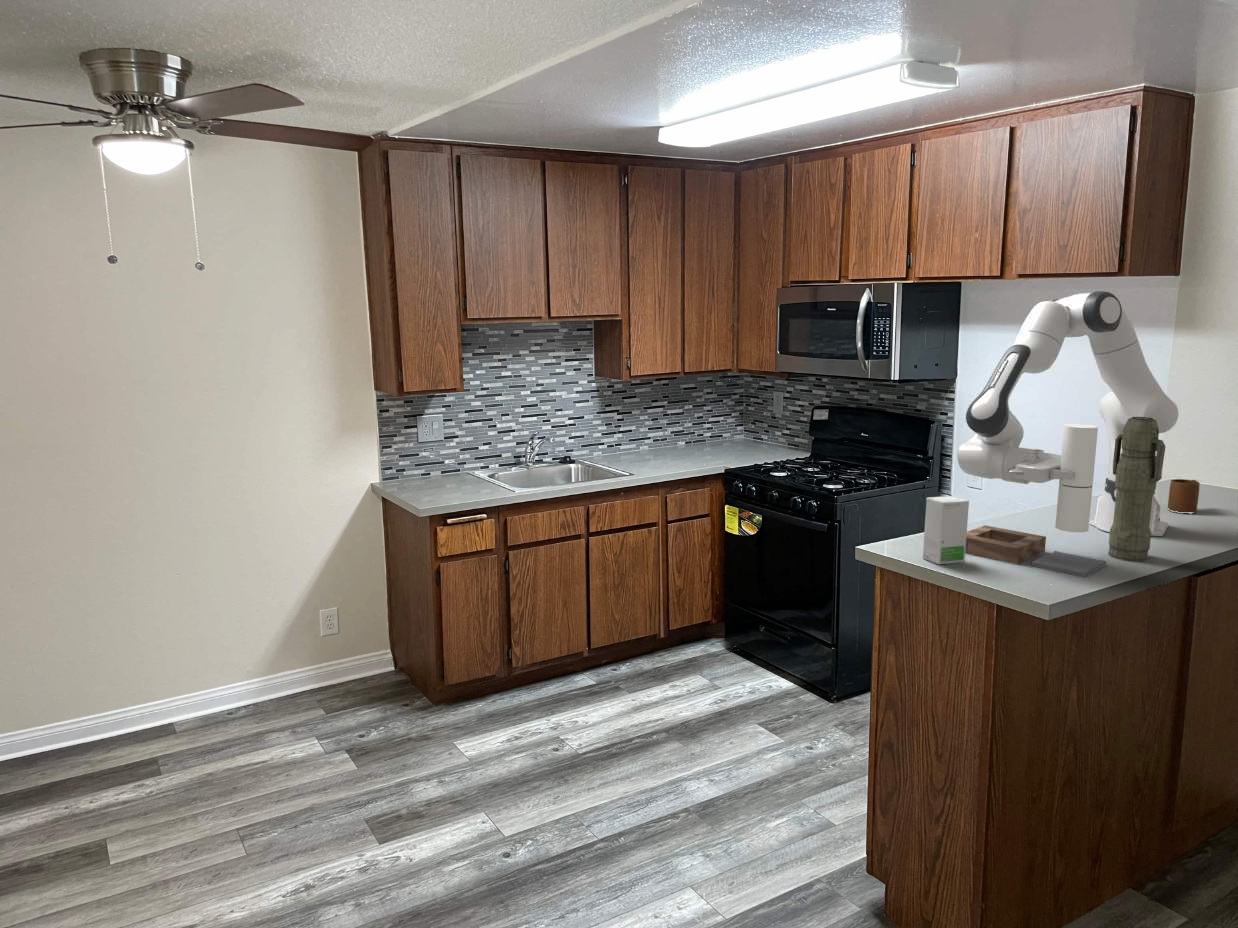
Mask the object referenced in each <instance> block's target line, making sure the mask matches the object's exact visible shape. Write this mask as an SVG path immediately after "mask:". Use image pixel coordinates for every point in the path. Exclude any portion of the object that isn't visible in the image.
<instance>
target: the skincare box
mask: <svg viewBox="0 0 1238 928" xmlns="http://www.w3.org/2000/svg"><path fill="white" fill-rule="evenodd" d="M969 507H970V500H968V499H964V498H960V497H956V496H953V495H952V496H931V497H926V504H925V518H924V519H925V520H924V534H923V548H922V559H923V560H926V561H929V562H931V563H934V564H937V565H945V564H957V563H958V562H959V563H965V560H966V553H965V549H966V535H967V532H968V521H969V518H968V517H969V509H970V508H969ZM959 563H958V564H959Z"/></svg>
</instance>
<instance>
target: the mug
mask: <svg viewBox="0 0 1238 928" xmlns="http://www.w3.org/2000/svg"><path fill="white" fill-rule="evenodd" d="M1168 492H1169V493H1168V501H1167V509H1168V508H1169V509H1170V510H1173V511H1178V512H1196V513H1197V509H1198V503H1199V496H1200V481H1197V480H1195V479H1186V478H1185V479H1182V478H1174V479H1171V480H1170V484H1169V491H1168Z"/></svg>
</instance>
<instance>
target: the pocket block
mask: <svg viewBox="0 0 1238 928" xmlns="http://www.w3.org/2000/svg"><path fill="white" fill-rule="evenodd" d="M1046 542H1047V536H1045V535H1044V536H1043V535H1039V534H1036V533H1035V534H1034V533H1030V532H1028V533H1027V532H1023V531H1018V530H1013V529H1006V528H1002V527H996V526H991V525H990V526H989V525H983V526H979V527H977V528H974V529H972V530H967V535H966V549H965V554H968V555H972V554H973V555H974V556H978V557H981V558H982V557H983V558H986V559H991V558H992V560H996V559H997V560H996V561H1001V560H1002V562H1005V561H1006V563H1010V562H1011V564H1015V563H1016V564H1015V565H1018V564H1021V563H1023V562H1025V561H1027V560H1030V559H1033V558H1034V557H1036V556H1038V555H1042V554H1043V553H1045V552H1046ZM973 555H972V556H973Z"/></svg>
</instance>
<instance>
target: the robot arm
mask: <svg viewBox="0 0 1238 928" xmlns="http://www.w3.org/2000/svg"><path fill="white" fill-rule="evenodd" d="M1084 336H1087V338H1088V340H1089V345H1090V347H1091V351H1092V353H1093V354H1092V355H1093V357H1094V360H1095V362H1096V363H1095V364H1096V365H1097V369H1098V371H1099V374H1100V377H1101V379H1102V380H1103V382H1104V383H1105V384H1106V385H1107V386H1108V387H1109V388H1110V390H1111V391H1108V392H1107V393H1105V394H1104V396H1103V397H1102V398H1101V400H1100V403H1099V406H1098V407H1099V413H1100V416H1101V417H1102V419H1103V420H1104V424H1105V428H1106V432H1107V438H1108V444H1109V445H1108V446H1109V447H1108V448H1109V458H1108V459H1109V460H1108V471H1107V477H1106V478H1105V482H1104V491H1105V492H1104V493H1103V494H1101V495H1100V496H1099V497H1098V499H1097V506H1096V512H1095V516H1094V519H1089V525H1091V526H1094V527H1096V528H1097V529H1099V530H1101V531H1104V532H1108V533H1110V528H1111V526H1112V525H1113V520H1114V510H1115V501H1116V491H1117V490H1116V487H1115V479H1116V477H1115V476H1116V475H1114V474H1113V459H1114V449H1115V439H1116V438H1117V437H1118V436H1119V435H1121V434H1123V429H1124V427H1125V424H1126V422H1127V420H1128V419H1129V418H1131V417H1148V418H1153V420H1156V421H1157V425H1158V429H1159V434H1163V433H1166V432H1169V431H1170V430H1171V429H1172V428H1174V426H1175V425H1176V424H1177V421H1178V419H1179V416H1180V415H1179V409H1178V406H1177V404H1176V403H1175V402H1174V401H1173V400H1172V399H1171V398H1170V397H1168V395H1167V394H1166V392H1165V391H1164V390H1163V389H1162V387H1161V385H1160V384H1159V382H1158V380H1157V379H1156V378H1155V376H1154V375H1153V373H1152V371H1151V369H1150V368H1149V366H1148V364H1147V362H1146V359H1145V356H1144V353H1143V350H1142V348H1141V344H1140V342H1139V339H1138V336H1137V333H1136V331H1135V327H1134V326H1133V324H1132V322H1131V320H1130V318H1129V317H1128V315H1127V313H1126V312H1125V310H1124V309H1123V307H1122V304H1121V302H1120V300H1119V298H1118V297H1117V296H1116V295H1115V294H1113V293H1112V292H1110V291H1106V290H1105V291H1104V290H1103V291H1101V290H1100V291H1099V290H1097V291H1092V292H1085V293H1084V292H1082V293H1075V294H1073V295H1070V296H1066V297H1063V298H1057V299H1053V300H1046V301H1045V300H1044V301H1041V302H1039V303H1037V304H1035V305H1034V306H1033V308H1032V309H1031V310H1030V312H1029V313H1028V315H1027V316H1026V318H1025V320H1024V321H1023V322H1022V324H1021V327H1020V329H1019V331H1018V333H1017V335H1016V337H1015V339H1014V341H1013V343H1012V345H1011V346H1010V347H1009V348H1008V349H1007V350H1006V351H1005V352H1004V353H1003V355H1002V356H1001V358H1000V359H999V362H998V363H997V365H996V367H995V369H994V371H993V372H992V374H991V376H990V378H989V379H988V381H987V382H986V385H985V386H984V387H983V390H982V391H981V392H980V393H979V394H978V395H977V397H976V398H974V399H973V400H972V402H971V403H970V404H969V405H968V408H967V409H966V413H965V422H966V424H967V427H968V428H969V429H970V430H971V431H972V432H973V433H975V434H974V435H973V436H972V437H971V438H970V439H969V440H967V441H966V442H963V443H962V444H960V445H959V447H958V450H957V464H958V465H959V467H960V469H961V470H962V471H963V472H964V473H965V474H968V475H970V476H973V477H977V478H984V479H989V480H993V479H995V480H996V479H999V480H1002V481H1005V482H1008V483H1015V484H1024V485H1028V484H1030V483H1037V484H1044V483H1047V482H1050V481H1053V480H1059V479H1067V480H1072V479H1074V477H1075V476H1074V475H1075V473H1074V472H1072V471H1060V468H1061V457H1062V454H1056V453H1050V452H1045V450H1043V449H1036V448H1034V449H1033V448H1027V447H1020V445H1021V442H1022V441H1023V440H1022V439H1024V428H1023V426H1022V424H1021V422H1020V421H1019V419H1017V417H1016V415H1014V414H1013V412H1012V411H1011V410H1010V405H1009V399H1010V397H1011V395H1012V393H1013V391H1014V389H1015V388H1016V385H1017V383H1018V382H1019V380H1020V379H1021V377H1022V375H1023V374H1024V373H1026V374H1041V373H1043V372H1045V371H1048V370H1050V368H1051V367H1052V366H1053V365H1054V363H1055V361H1056V360H1057V359H1058V356H1059V353H1060V352H1061V348H1062V347H1063V345H1064V341H1065V339H1066V338H1079V337H1084ZM1121 454H1122V443H1121V453H1120V457H1121ZM1157 483H1158V482H1156V484H1157ZM1155 494H1156V490H1155V491H1154V492H1153V498H1152V507H1151V516H1150V526H1149V528H1150V531H1151V537H1152V536H1153V537H1162V536H1164V534H1165V532H1166V531H1167V529H1168V526H1169V523H1168V522H1167V521H1163V520H1161V518H1160V515H1161V505H1160V503H1159V502H1158V500H1157V499H1156V497H1155Z"/></svg>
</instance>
